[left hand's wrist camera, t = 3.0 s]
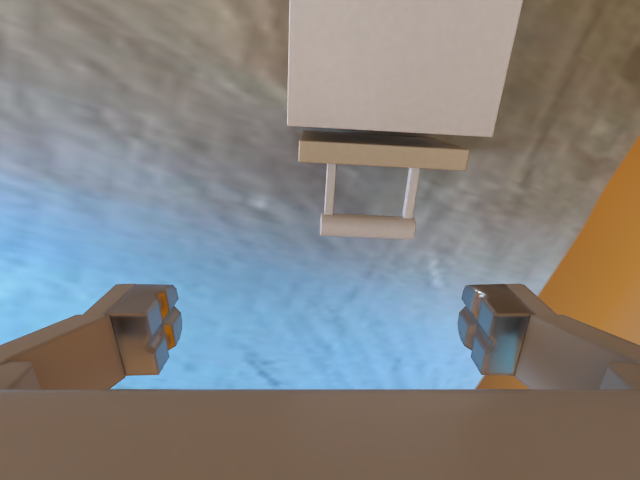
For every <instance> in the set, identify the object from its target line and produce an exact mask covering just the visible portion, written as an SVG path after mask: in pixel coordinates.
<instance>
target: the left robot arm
mask: <svg viewBox="0 0 640 480" xmlns="http://www.w3.org/2000/svg"><path fill="white" fill-rule="evenodd" d="M177 300H178V295H177V290H176V288H175V287H174V286H173V285H155V284H118V285H115V286H114V287H113V288H112V289H111V290H110V291H109V292H107V293H106V294H105V295H104V296H103V297H102V298H101V299H100V300H99V301H97V302H96V303H95V304H94V305H93V306H92V307H91V308H90V309H89V310H87V311H86V312H85V313H84V314H83V315H75V316H73V317H70V318H68V319H65V320H63V321H60V322H58V323H55V324H53V325H50V326H48V327H45V328H43V329H40V330H38V331H35V332H33V333H30V334H28V335H25V336H23V337H20V338H18V339H15V340H13V341H10V342H8V343H5V344H3V345H0V480H640V345H637V344H635V343H632V342H630V341H627V340H625V339H622V338H620V337H617V336H615V335H612V334H610V333H607V332H605V331H602V330H600V329H597V328H595V327H592V326H590V325H587V324H585V323H582V322H580V321H577V320H575V319H572V318H570V317H567V316H565V315H557V314H556V313H555V312H554V311H553V310H552V309H550V308H549V307H548V306H547V305H546V304H545V303H544V302H543V301H542V300H540V299H539V298H538V297H537V296H536V295H535V294H534V293H533V292H532V291H530V290H529V289H528V288H527V287H526V286H525V285H522V284H489V285H467V286H465V288H464V290H463V294H462V300H463V302H464V304H465V305H466V306H465V307H464V308H463V309H462V310H461V311H460V312H459V318H458V330H459V335H460V338H461V341H462V342H463V344H464V346H466V347H467V348H469V349H470V350H472V353H471V358H472V360H473V361H474V363H475V365H476V366H477V368H478V370H479V372H480V373H481V375H512V376H515V378H517V379H518V380H519V381H521V382H522V383H523V384H525V385H526V386H527V387H529V388H530V389H110V388H111V387H113V386H114V385H115V384H117V383H118V382H119V381H121V380H122V379H124V378H125V376H128V375H159V373H160V372H161V370H162V368H163V367H164V365H165V363H166V361H167V360H168V358H169V353H168V350H170V349H171V348H173V347H175V346H176V344H177V342H178V341H179V339H180V335H181V330H182V317H181V312H180V311H179V310H178V309H177V308H176V307H175V306H174V305H175V304H176V302H177Z"/></svg>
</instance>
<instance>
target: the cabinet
mask: <svg viewBox="0 0 640 480" xmlns="http://www.w3.org/2000/svg"><path fill="white" fill-rule="evenodd" d="M522 3H523V0H290V5H289V56H288V106H287V126H300V127H318V128H336V129H354V130H372V131H390V132H407V133H425V134H443V135H461V136H479V137H493V133H494V128H495V124H496V119H497V115H498V110H499V106H500V101H501V97H502V92H503V88H504V84H505V79H506V75H507V70H508V66H509V61H510V57H511V52H512V48H513V43H514V39H515V34H516V30H517V25H518V21H519V17H520V12H521V8H522Z"/></svg>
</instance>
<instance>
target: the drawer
mask: <svg viewBox="0 0 640 480" xmlns="http://www.w3.org/2000/svg"><path fill="white" fill-rule="evenodd" d="M469 152H470V150H468V149H465V148H462V147H459V146H456V145H452V144H449V143H446V142H443V141H440V140H436V139H433V138H427V137H409V136H391V135H373V134H355V133H337V132H319V131H303V132H302V135H301V137H300V140H299V154H298V161H299V162H308V163H327V172H326V188H325V205H324V213H321V219H320V235H321V236H341V237H363V238H385V239H407V240H412V239H413V238H414V236H415V231H416V222H415V219H414V218H413V212H414V206H415V199H416V193H417V187H418V180H419V174H420V168H422V169H441V170H460V171H465V170H466V167H467V162H468V157H469ZM337 164H346V165H365V166H384V167H403V168H409V173H408V180H407V186H406V193H405V200H404V207H403V214H402V216H403V217H396V216H375V215H354V214H333V207H334V193H335V179H336V165H337Z"/></svg>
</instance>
